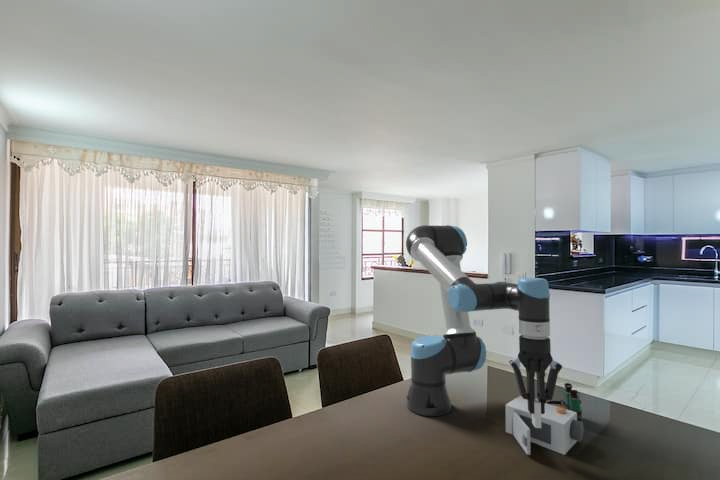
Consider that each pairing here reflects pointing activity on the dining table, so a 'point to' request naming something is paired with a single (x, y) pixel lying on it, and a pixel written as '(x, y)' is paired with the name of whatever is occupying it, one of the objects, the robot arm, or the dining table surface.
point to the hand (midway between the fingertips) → (536, 425)
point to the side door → (521, 432)
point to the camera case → (548, 425)
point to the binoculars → (570, 401)
